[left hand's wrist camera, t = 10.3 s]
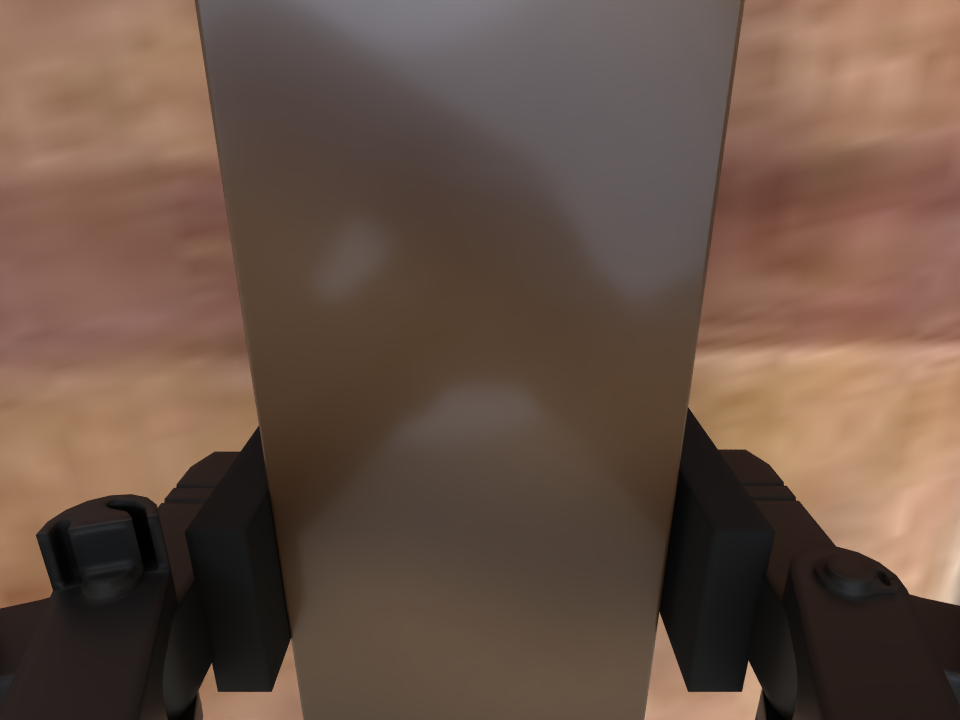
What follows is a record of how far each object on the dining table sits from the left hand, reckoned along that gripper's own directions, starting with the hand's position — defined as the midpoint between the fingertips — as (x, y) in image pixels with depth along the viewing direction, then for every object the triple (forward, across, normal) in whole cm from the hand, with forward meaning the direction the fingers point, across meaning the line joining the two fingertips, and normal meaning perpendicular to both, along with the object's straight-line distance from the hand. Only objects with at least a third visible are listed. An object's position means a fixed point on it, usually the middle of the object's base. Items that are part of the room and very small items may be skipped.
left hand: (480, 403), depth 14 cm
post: (+2, 0, -36) cm, 36 cm away
